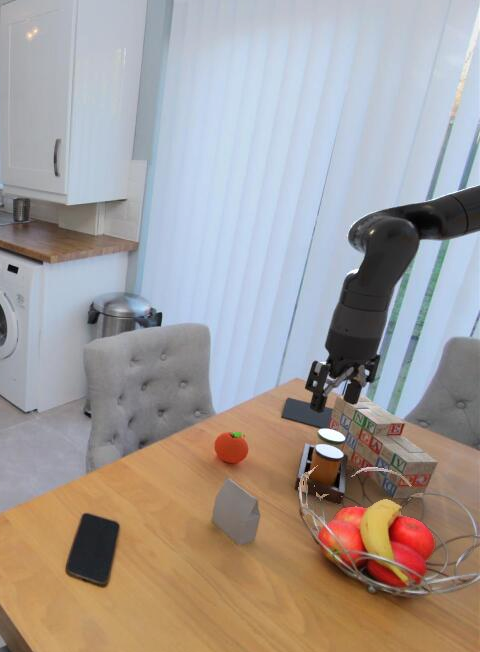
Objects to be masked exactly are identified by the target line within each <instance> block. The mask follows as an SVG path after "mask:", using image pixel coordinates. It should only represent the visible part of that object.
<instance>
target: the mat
mask: <svg viewBox="0 0 480 652" xmlns="http://www.w3.org/2000/svg"><path fill="white" fill-rule="evenodd" d="M310 403H311V402H308V401H303V400H300V399H296V398H293V397H292V398H291V397H287V398H286V401H285V404H284V407H283V410H282V414H281V419H285V420H288V421H292V422H296V423H299V424H303V425H307V426H311V427H314V428H318V429H328V427H329V423H330V420H331V415H332V411H333V407H328V406H325V409H324V412H322V413H317V412H316V411H314V410H312V409H311V408H310Z"/></svg>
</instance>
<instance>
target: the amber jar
mask: <svg viewBox="0 0 480 652" xmlns="http://www.w3.org/2000/svg"><path fill="white" fill-rule="evenodd" d="M314 446H315V445H314ZM343 456H344V454H343V452H342V451H341V450H339V449H338V448H336V447H333V446H330V445H326V444H319V445H316V446H315V450H314V455H313V459H312V462H311V466H310V469H309V471H310V470H312V469H313V468H314V467H316V466H317V465H318V466H317V467H316V468H315V469H314V471H313V472H312V473H311V474H310V476H309V479H311V480H314V481H317V482H320V483H323V484H326V485H329V486H332V487H333V486H334V483H335V479H336V476H337V473H338V470H339V467H340V464H341V460H342V459H343Z"/></svg>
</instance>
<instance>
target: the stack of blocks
mask: <svg viewBox="0 0 480 652" xmlns="http://www.w3.org/2000/svg"><path fill="white" fill-rule="evenodd" d="M343 398H344V395H343V394H342V395H341V394H340V395H336V396H335V401H334V405H333V407H332V409H333V411H332V415H331V420H330V423H329V427H328V429H332V430H335V431H337V432H339V433H341V434H343V435H344V436H345V442H344V443H343V446H342V449H341V451H342V452H343V454H345V455H348V461H350V462H352V463H353V464H354V465H355V466H357V468H358V469H360V468H366V467H378V468H384V469H388V470H392V471H394V472H397V473H399V474H401V475H402V476H404V477H405V478H406V479H407V480H408V481H409V482H410V484H411V485H412V486H411V487H410V486H409V485H408V484H407V483H406V482H405V481H404V480H403V479H402V478H401V477H400V476H398V475H395V474H392V473H389V472H384V471H367V472H364V474H366V475H367V476H368V477H369V478H370V480H372V481H373V482H374V483H375V484H376V485H377V486H378V487H379V488H381V489H382V490H383V491H384V492H385V493H386V494H388V496H390V497H391V499H409V498H408V497H410V496H411V495H414V494H417V493H424V494H425V493H426V490H427V488H428V486H429V484H430V481H431V479H432V476H433V474H434V473H435V471H436V468H437V466H438V463H439V462H438V460H436V459H435V458H434V457H432V456H431V455H429V454H428V453H426V452H425V451H424V450H423V449H421V447H419V446H418V445H415V444H414V443H413V442H412V441H410V440H409V439H407V438H406V437H404V436H403V435H402V434H403V430H404V428H405V425H406V423H405V422H404V421H403V420H401V419H400V418H399V417H397V416H396V415H393V414H392V413H390V411H388V410H386V409H385V408H383V407H381V405H379V404H377V403H376V402H374V401H373V400H371V399H370V398H368V396H366V395H364V394H360V396H359V399H358V403H357V404H354V405H352V404H350V403H348V402H346V401H344V399H343ZM414 499H421V498H420V497H415V498H414Z"/></svg>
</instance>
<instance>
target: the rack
mask: <svg viewBox="0 0 480 652" xmlns="http://www.w3.org/2000/svg"><path fill="white" fill-rule="evenodd" d="M314 446H315V444H314V445H313V444H311V443H307V442H305V443H304V445H303V449H302V452H301V456H300V461H299V466H298V469H297V474H296V479H295V483H294V487H293V490H295V491H298V487H299V482H300V479H301V476H302V474H304V473H305V472H308V471H309V469H310V466H311V462H312V461H310V460H311V457H312V453H313V450H314ZM348 461H349V459H348V455H345V454H344V456H343V459H342V460H341V464H340V467H339V470H338V473H337V476H336V479H335V483H334V486H333V487H332V486H329V485H326V484H323V483H320V482H317V481H314V480H311V479H308V478H307V485H308V494H307V495H309V496H312V497H315V498H317V497H316V492H317V493H318V494H319V495H320V496H322V495H323V494H329V495H327V496H325V497H323V499H322V500H324V501H326V502H329V503H333V504H336V503H337V504H336V505H338V504H341V505H342V504H343V503H342V502H343V500H344V497H345V494H346V481H347V469H348ZM346 464H347V465H346ZM303 485H304V481H303ZM314 485H315V487H314ZM298 492H299V491H298ZM341 496H343V497H341Z"/></svg>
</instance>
